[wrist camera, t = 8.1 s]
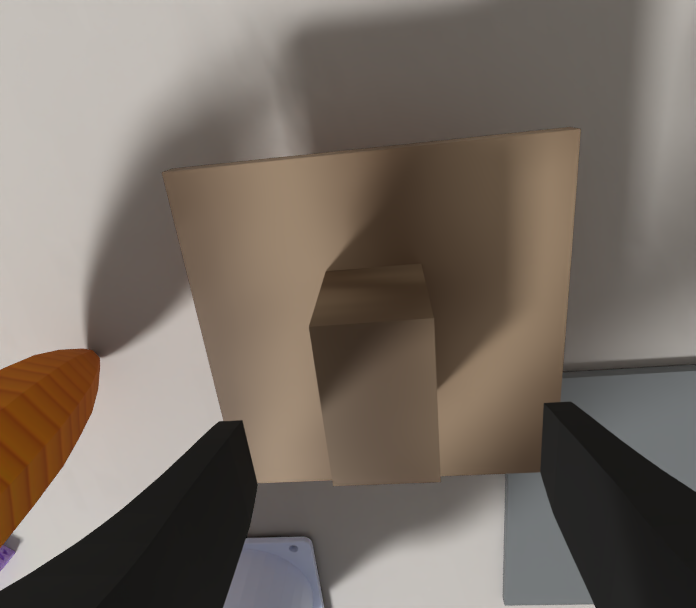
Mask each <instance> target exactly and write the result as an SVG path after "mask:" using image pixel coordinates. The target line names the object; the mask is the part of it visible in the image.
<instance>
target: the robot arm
mask: <svg viewBox="0 0 696 608" xmlns="http://www.w3.org/2000/svg"><path fill="white" fill-rule="evenodd" d="M540 473H541V477H542V480H543V483H544V487H545V490H546V493H547V497H548V500H549V503H550V506H551V509H552V512H553V515H554V517H555V519H556V521H557V524H558V526H559V528H560V530H561V533H562V535H563V537H564V539H565V542H566V544H567V546H568V548H569V550H570V553H571V555H572V557H573V559H574V561H575V564H576V566H577V568H578V570H579V572H580V575H581V577H582V579H583V581H584V583H585V586H586V588H587V590H588V592H589V594H590V596H591V599H592V601H593V603H594V605H595V607H596V608H696V492H695V491H694V490H692V489H691V488H689V487H688V486H686V485H685V484H683V483H682V482H680V481H678V480H677V479H675V478H674V477H672V476H671V475H669V474H668V473H666V472H665V471H663V470H662V469H660V468H659V467H658V466H656V465H655V464H653V463H652V462H650V461H649V460H648V459H646V458H645V457H643V456H642V455H641V454H639V453H638V452H637V451H635V450H634V449H632V448H631V447H630V446H628V445H627V444H626V443H624V442H623V441H622V440H620V439H619V438H618V437H616V436H615V435H614V434H613V433H611V432H610V431H609V430H607V429H606V428H605V427H604V426H602V425H601V424H600V423H598V422H597V421H596V420H595V419H593V418H592V417H591V416H590V415H588V414H587V413H586V412H584V411H583V410H582V409H581V408H579V407H578V406H577V405H575V404H574V403H573V402H571V401H570V402H552V403H544V407H543V427H542V446H541V466H540ZM257 486H258V484H257V479H256V475H255V471H254V467H253V462H252V458H251V454H250V450H249V446H248V441H247V437H246V433H245V429H244V424H243V420H237V421H220V422H218V423H217V424H215V425H214V426H213V427H212V428H211V429H210V430H209V431H208V432H207V433H206V434H204V435H203V436H202V437H201V438H200V439H199V440H198V441H197V442H196V443H195V444H194V445H193V446H192V447H191V448H190V449H189V450H188V451H187V452H186V453H185V454H184V455H182V456H181V457H180V458H179V459H178V460H177V461H176V462H175V463H174V464H173V465H172V466H171V467H170V468H169V469H168V470H166V471H165V472H164V473H163V474H162V475H161V476H160V477H159V478H158V479H157V480H155V481H154V482H153V483H152V484H151V485H150V486H148V487H147V488H146V489H145V490H144V491H143V492H141V493H140V494H139V495H138V496H137V497H136V498H134V499H133V500H132V501H131V502H130V503H129V504H128V505H126V506H125V507H124V508H123V509H121V510H120V511H119V512H118V513H116V514H115V515H114V516H113V517H111V518H110V519H109V520H107V521H106V522H105V523H103V524H102V525H101V526H99V527H98V528H97V529H95V530H94V531H93V532H91V533H90V534H88V535H87V536H86V537H84V538H83V539H82V540H80V541H79V542H77V543H76V544H74V545H73V546H71V547H70V548H68V549H67V550H65V551H64V552H62V553H61V554H59V555H57V556H56V557H54V558H53V559H51V560H50V561H48V562H47V563H45V564H44V565H42V566H41V567H39V568H37V569H36V570H34V571H33V572H31V573H30V574H28V575H26V576H25V577H23V578H21V579H20V580H18V581H16V582H15V583H13V584H11V585H9V586H8V587H6V588H4V589H3V590H1V591H0V608H324V603H323V598H322V592H321V587H320V582H319V576H318V571H317V565H316V560H315V555H314V549H313V544H312V541H311V540H310V539H309V538H307V537H269V538H246V536H247V533H248V530H249V527H250V523H251V518H252V513H253V508H254V503H255V497H256V492H257ZM293 545H294V546H293Z"/></svg>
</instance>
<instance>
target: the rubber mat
mask: <svg viewBox="0 0 696 608" xmlns="http://www.w3.org/2000/svg"><path fill="white" fill-rule="evenodd" d="M570 401H571V402H573V403H574V404H575V405H577V406H578V407H579V408H581V409H582V410H583V411H584V412H586V413H587V414H588V415H590V416H591V417H592V418H593V419H595V420H596V421H597V422H598V423H600V424H601V425H602V426H604V427H605V428H606V429H607V430H609V431H610V432H611V433H613V434H614V435H615V436H616V437H618V438H619V439H620V440H622V441H623V442H624V443H626V444H627V445H628V446H630V447H631V448H632V449H634V450H635V451H637V452H638V453H639V454H641V455H642V456H643V457H645V458H646V459H648V460H649V461H650V462H652V463H653V464H655V465H656V466H658V467H659V468H660V469H662V470H663V471H665V472H666V473H668V474H669V475H671V476H672V477H674V478H675V479H677V480H678V481H680V482H682V483H683V484H685V485H686V486H688V487H689V488H691V489H692V490H694V491H695V492H696V365H680V366H663V367H645V368H628V369H611V370H593V371H576V372H563V374H562V387H561V401H560V402H570ZM503 600H504V605H575V604H594V603H593V601H592V599H591V596H590V594H589V592H588V590H587V588H586V586H585V583H584V581H583V579H582V577H581V575H580V572H579V570H578V568H577V566H576V564H575V561H574V559H573V557H572V555H571V553H570V550H569V548H568V546H567V544H566V542H565V539H564V537H563V535H562V533H561V530H560V528H559V526H558V524H557V521H556V519H555V517H554V515H553V512H552V509H551V506H550V503H549V500H548V497H547V493H546V490H545V487H544V483H543V480H542V477H541V473H540V472H537V473H511V474H506V481H505V523H504V565H503Z"/></svg>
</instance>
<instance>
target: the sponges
mask: <svg viewBox="0 0 696 608" xmlns="http://www.w3.org/2000/svg"><path fill="white" fill-rule="evenodd" d="M14 554H15V551H13V550H11V549H10V548H8V547H6V546H4V545H2V546H1V548H0V571H1V570H2V569H3V568H4V566H5V565H6V564H7V563H8V562H9V560H10V559H11V558H12V556H13V555H14Z"/></svg>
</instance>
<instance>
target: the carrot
mask: <svg viewBox="0 0 696 608" xmlns="http://www.w3.org/2000/svg"><path fill="white" fill-rule="evenodd" d="M99 372H100V357H99V356H98V355H97V354H96V353H95V352H94V351H93V350H88V349H66V350H56V351H52V352H47V353H43V354H38V355H34V356H31V357H29V358H27V359H24V360H22V361H20V362H17V363H15V364H12V365H10V366H8V367H5V368H3V369H1V370H0V548H1V546H2V545H3V544H4V543H5V541H6V540H7V539H8V538H9V536H10V535H11V534H12V533H13V531H14V530H15V529H16V528H17V526H18V525H19V524H20V522H21V521H22V520H23V519H24V517H25V516H26V515H27V514H28V512H29V511H30V510H31V509H32V507H33V506H34V505H35V503H36V502H37V501H38V499H39V498H40V497H41V495H42V494H43V493H44V491H45V490H46V489H47V487H48V486H49V485H50V483H51V482H52V481H53V479H54V478H55V477H56V475H57V474H58V473H59V471H60V470H61V469H62V467H63V466H64V464H65V462H66V460H67V459H68V457H69V455H70V453H71V452H72V450H73V448H74V446H75V444H76V443H77V441H78V439H79V437H80V435H81V433H82V431H83V429H84V427H85V425H86V423H87V421H88V419H89V417H90V415H91V413H92V411H93V407H94V403H95V399H96V395H97V391H98V385H99Z"/></svg>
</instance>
